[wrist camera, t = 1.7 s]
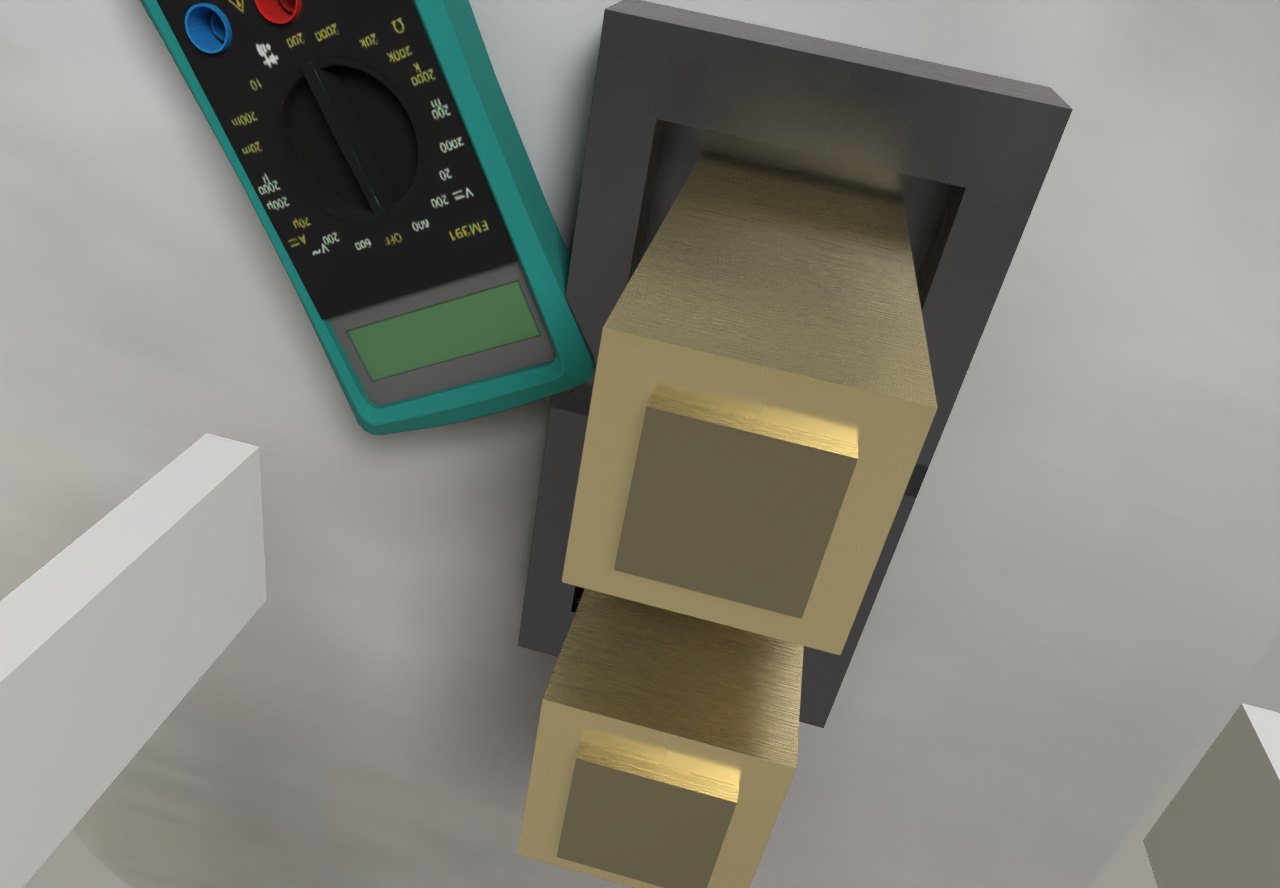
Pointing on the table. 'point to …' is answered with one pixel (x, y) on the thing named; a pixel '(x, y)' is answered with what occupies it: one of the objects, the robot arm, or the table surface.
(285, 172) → the digital multimeter
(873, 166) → the dark grey block holder
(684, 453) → the tan rectangular block
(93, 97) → the table surface
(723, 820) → the gold rectangular block
